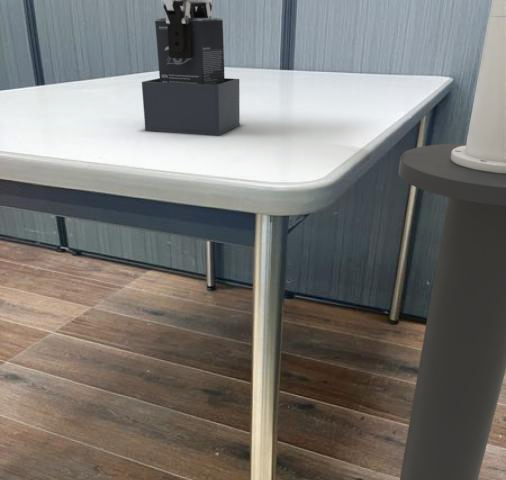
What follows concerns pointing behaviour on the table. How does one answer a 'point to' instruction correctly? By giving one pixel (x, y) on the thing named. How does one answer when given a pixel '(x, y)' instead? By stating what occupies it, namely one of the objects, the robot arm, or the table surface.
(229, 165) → the table surface
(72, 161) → the table surface
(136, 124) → the table surface
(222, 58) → the box
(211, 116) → the box
